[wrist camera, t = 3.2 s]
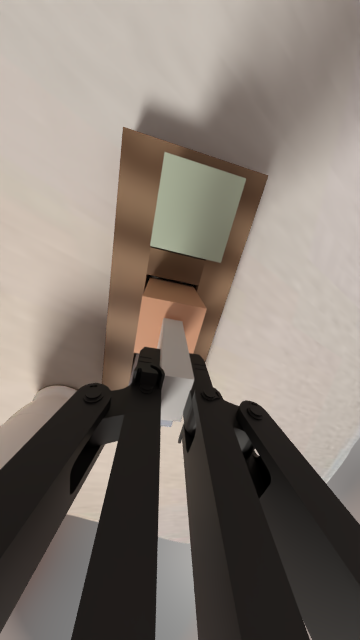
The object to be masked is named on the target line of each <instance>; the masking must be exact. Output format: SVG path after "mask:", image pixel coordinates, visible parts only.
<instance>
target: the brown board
mask: <svg viewBox="0 0 360 640" xmlns="http://www.w3.org/2000/svg"><path fill="white" fill-rule="evenodd" d="M165 152H167V153H170V154H173V155H176V156H179V157H182V158H185V159H188V160H191V161H194V162H197V163H200V164H203V165H206V166H209V167H213V168H216V169H219V170H222V171H225V172H228V173H231V174H234V175H237V176H240V177H243V178H246V181H245V185H244V188H243V191H242V195H241V198H240V201H239V204H238V208H237V211H236V214H235V218H234V221H233V224H232V228H231V231H230V234H229V237H228V241H227V244H226V247H225V251H224V254H223V257H222V261H221V263H219V262H215V261H211V260H207V259H202V258H197V257H193V256H189V255H185V254H181V253H177V252H173V251H169V250H164V249H160V248H156V247H153V246H150V243H151V237H152V230H153V224H154V217H155V211H156V205H157V198H158V192H159V185H160V179H161V172H162V166H163V159H164V153H165ZM267 178H268V175H265V174H262V173H259V172H256V171H253V170H250V169H247V168H244V167H241V166H238V165H235V164H232V163H229V162H226V161H223V160H220V159H218V158H215V157H212V156H209V155H206V154H203V153H200V152H197V151H194V150H191V149H188V148H185V147H182V146H179V145H176V144H173V143H170V142H167V141H164V140H161V139H158V138H155V137H152V136H149V135H146V134H143V133H140V132H137V131H134V130H131V129H128V128H125V127H123V134H122V146H121V158H120V170H119V182H118V194H117V206H116V219H115V231H114V243H113V255H112V267H111V279H110V291H109V303H108V315H107V327H106V339H105V351H104V363H103V375H102V384H104V385H106V386H108V387H109V389H110V390H111V391H113V390H119V389H123V388H125V387H127V386H128V385H129V381H130V377H131V373H132V369H133V365H134V360H135V353H134V346H135V340H136V333H137V327H138V321H139V314H140V308H141V301H142V296H143V293H144V291H145V288H146V285H147V278H148V275H153V276H157V277H162V278H166V279H171V280H176V281H180V282H185V283H189V284H194V285H193V287H194V288H195V290H196V292H197V293H198V295H199V297H200V298H201V300H202V302H203V303H204V305H205V307H206V308H207V310H206V313H205V317H204V320H203V323H202V327H201V330H200V333H199V336H198V340H197V343H196V346H195V350H194V353H193V354H199V355H200V356H201V357H202V358H203V359H204V361H206V358H207V355H208V352H209V349H210V346H211V343H212V340H213V337H214V335H215V332H216V329H217V326H218V323H219V320H220V317H221V314H222V311H223V308H224V305H225V302H226V299H227V296H228V293H229V290H230V287H231V284H232V282H233V279H234V276H235V273H236V270H237V267H238V264H239V261H240V258H241V255H242V252H243V249H244V246H245V243H246V240H247V237H248V234H249V231H250V229H251V226H252V223H253V220H254V217H255V214H256V211H257V208H258V205H259V202H260V199H261V196H262V193H263V190H264V187H265V184H266V181H267Z"/></svg>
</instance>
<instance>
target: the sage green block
mask: <svg viewBox="0 0 360 640" xmlns="http://www.w3.org/2000/svg"><path fill="white" fill-rule="evenodd" d="M245 181H246V178H243V177H240V176H237V175H234V174H231V173H228V172H225V171H222V170H219V169H216V168H213V167H209V166H206V165H203V164H200V163H197V162H194V161H191V160H188V159H185V158H182V157H179V156H176V155H173V154H170V153H167V152H165V153H164V159H163V166H162V172H161V179H160V185H159V192H158V198H157V205H156V211H155V217H154V224H153V230H152V237H151V243H150V246H153V247H157V248H161V249H165V250H169V251H173V252H178V253H182V254H186V255H190V256H194V257H198V258H202V259H207V260H211V261H215V262H219V263H221V261H222V257H223V254H224V251H225V247H226V244H227V241H228V237H229V234H230V231H231V228H232V224H233V221H234V218H235V214H236V211H237V208H238V204H239V201H240V198H241V195H242V191H243V188H244V185H245Z"/></svg>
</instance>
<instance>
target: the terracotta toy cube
mask: <svg viewBox="0 0 360 640" xmlns="http://www.w3.org/2000/svg"><path fill="white" fill-rule="evenodd" d="M206 310H207V308H206V307H205V305H204V303H203V302H202V300H201V298H200V297H199V295H198V293H197V292H196V290H195V288H194V287H193V286H188V285H183V284H179V283H174V282H170V281H165V280H160V279H156V278H151V277H150V279H149V281H148V284H147V286H146V288H145V291H144V293H143V296H142V301H141V308H140V314H139V321H138V327H137V333H136V340H135V346H134V353H139V354H140V350H142V349H143V348H144V347H150V348H157V346H158V341H159V336H160V331H161V327H162V322H163V318H168V319H173V320H178V321H182V322H183V327H184V332H185V337H186V341H187V346H188V351H189V353H192V354H193V353H194V350H195V346H196V343H197V340H198V336H199V333H200V330H201V327H202V323H203V320H204V317H205V313H206Z"/></svg>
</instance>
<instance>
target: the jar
mask: <svg viewBox="0 0 360 640" xmlns="http://www.w3.org/2000/svg"><path fill="white" fill-rule="evenodd" d="M76 391H77V390H75V389H73V388H70V387H66V386H49V387H46V388H43V389H41V390H40V391H39V392H37V393H36V395H35V396H34V398H33V401H32V402H31V403H29V404H27V405H26V406H24V407H23V408H21V409H20V410H19V411H17V412H16V413H15V414H14V415H13V416H11V417H10V418H9V419H8V420H7V421H6V422H5V423H4V424H3V425H2V426H0V469H1V468H2V467H3V466H4V465H5V464H6V463H7V462H8V461H9V460H10V459H11V458H12V457H13V456H14V455H15V454H16V453H17V452H18V451H19V450H20V449H21V448H22V447H23V446H24V445H25V444H26V443H27V442H28V441H29V440H30V439H31V438H32V437H33V435H34V434H35V433H36V432H37V431H38V430H39V429H40V428H41V427H42V426H43V425H44V424H45V423H46V422H47V421H48V420H49V419H50V418H51V417H52V416H53V415H54V414H55V413H56V412H57V411H58V410H59V409H60V408H61V407H62V406H63V405H64V404H65V403H66V402H67V401H68V400H69V399H70V398H71V397H72V396H73V394H74V393H75V392H76Z"/></svg>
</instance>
